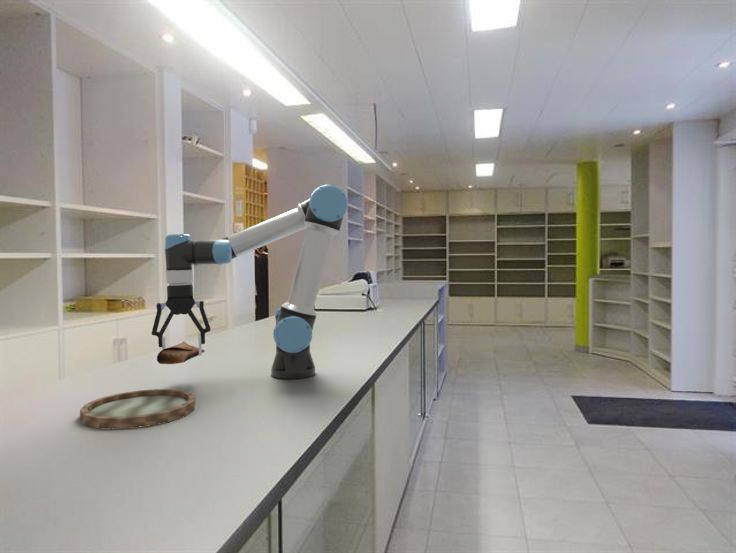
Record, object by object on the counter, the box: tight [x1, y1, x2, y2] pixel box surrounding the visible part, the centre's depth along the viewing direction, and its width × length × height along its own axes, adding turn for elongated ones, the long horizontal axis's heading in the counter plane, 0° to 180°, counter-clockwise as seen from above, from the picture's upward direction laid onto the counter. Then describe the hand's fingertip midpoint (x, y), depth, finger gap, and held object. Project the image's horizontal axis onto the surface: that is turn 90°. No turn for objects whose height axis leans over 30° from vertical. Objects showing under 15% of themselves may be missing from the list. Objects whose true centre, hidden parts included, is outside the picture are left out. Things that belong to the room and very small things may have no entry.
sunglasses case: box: [156, 341, 206, 365], centre depth 157 cm, size 18×7×7 cm
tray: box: [79, 388, 196, 430], centre depth 133 cm, size 27×27×2 cm
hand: (182, 356), depth 158 cm, fingers closed on sunglasses case, 10 cm apart
